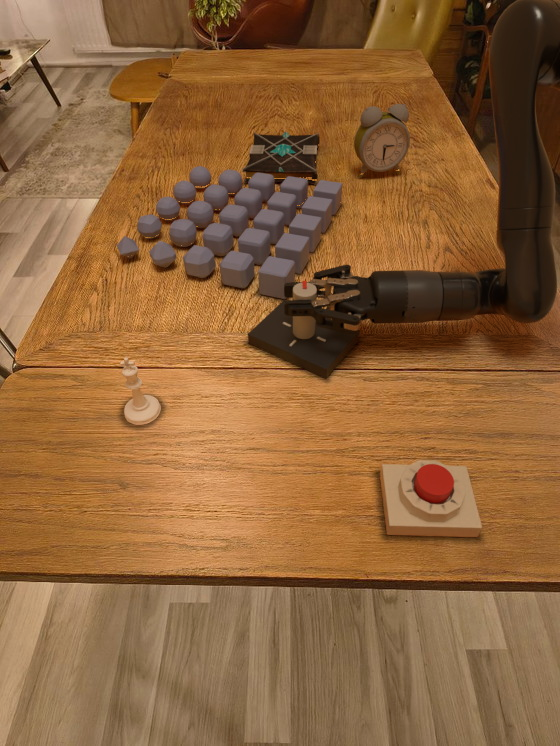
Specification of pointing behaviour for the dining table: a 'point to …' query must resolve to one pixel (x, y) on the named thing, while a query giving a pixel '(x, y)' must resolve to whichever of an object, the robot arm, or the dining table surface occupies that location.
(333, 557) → the dining table surface
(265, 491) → the dining table surface
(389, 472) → the box
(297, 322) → the knob
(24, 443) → the dining table surface
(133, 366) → the chess piece
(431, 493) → the button
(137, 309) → the dining table surface
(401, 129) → the alarm clock
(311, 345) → the panel
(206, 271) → the blocks
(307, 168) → the book
